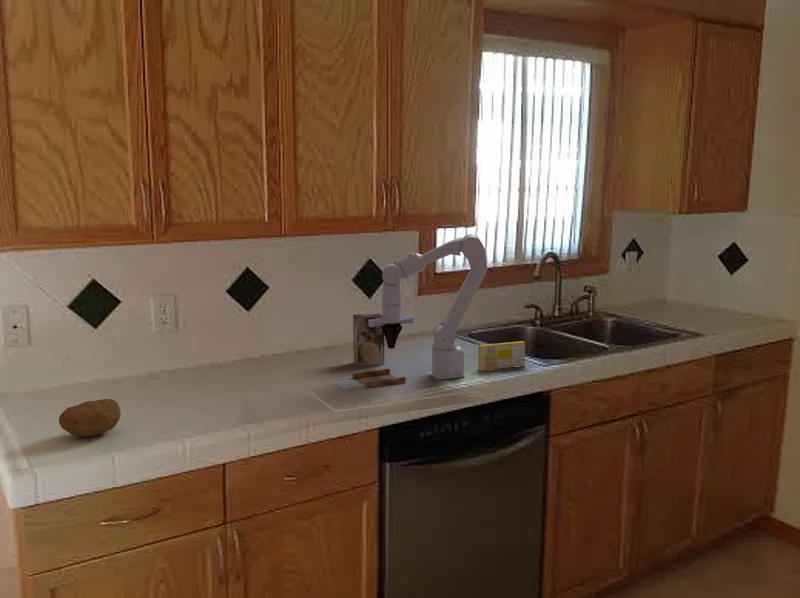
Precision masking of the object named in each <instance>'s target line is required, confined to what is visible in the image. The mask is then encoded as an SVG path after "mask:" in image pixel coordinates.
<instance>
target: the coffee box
mask: <svg viewBox="0 0 800 598" xmlns="http://www.w3.org/2000/svg"><path fill="white" fill-rule="evenodd" d="M377 318H382V314H380V313H368V314H367V313H363V314H353V315H352V338H353V339H352V340H353V341H352V344H353V345H352V346H353V347H352V352H353V353H352V354H353V356H352V357H353V358H352V360H353V362H352V363H353V364H354V365H355V366H358V367H359V366H377V365H385V335H384V333H383V330H382V329H381V326H374V327H370V326H368V322H369V320H371V319H377Z"/></svg>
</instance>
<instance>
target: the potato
mask: <svg viewBox="0 0 800 598" xmlns="http://www.w3.org/2000/svg"><path fill="white" fill-rule="evenodd" d="M121 414H122V413H121V408H120V406H119V403H118V401H116V400H115V399H112V398H102V399H97V400H87V401H85V402H84V401H83V402H82V403H79V404H77V405H73V406H70V407H67V408H66V409H65V410H63V412H62V413H61V414H60V415H59V417H58V423H59V424H58V425H60V428H61V429H62V430H64V431H66V432H67V433H69V434H71V435H72V436H74V437H76V438H91V437H95V436H99V435H101V434H103V433H106V432H108V431H109V430H112V429H114V428H115V427H116V426H117V424H118V423H119V421H120V419H121Z"/></svg>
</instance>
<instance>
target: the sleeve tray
mask: <svg viewBox="0 0 800 598" xmlns="http://www.w3.org/2000/svg"><path fill="white" fill-rule="evenodd" d="M352 379H354V380H356V381H358V382H360V383H361V384H363V385H365V387H366V388H369V389H370V388H376V387H377V388H378V387H384V386H386V387H387V386H391V385H399V384H400V385H401V384H406V379H407V378H406V376H398V377H396V376H394V375H392V374H391V369H390V368H387V367H386V368H381V369H380V368H379V369H371V370H364V371H356V372H352Z"/></svg>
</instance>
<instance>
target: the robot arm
mask: <svg viewBox="0 0 800 598" xmlns="http://www.w3.org/2000/svg"><path fill="white" fill-rule="evenodd" d="M486 252H487V251H486V248H485V247H484V244H483V242H482V241H481V239H480V237H478V236H477V235H476V234H472V233H469V234H465V236H463V237H457V238H454V239H451V240H450V241H447V242H446V243H443V244H441V245H439V246H437V247H435V248H433V249H431V250H430V251H427V252H426V253H423V254H421V253H417V252H415V253H413V252H410V253H408V254H407V256H406V257H404V258H402V259H400V260H397V259H396V260H394V261H393V263H390V264H387V265H386V266H385V267H384V268H383V270H382V272H381V273H382V274H381V278H382V280H383V282H382V291H381V293H382V294H381V295H382V297H381V302H382V303H381V304H382V305H381V310H382V311H381V312H382V313H381V315H382V318H377V319H371V320H369V322H368V326H370V327H374V326H381V329H382V330H383V333H384V339H385V341H386V345H387V348H388V349H389V350H392V349H395V347H396V343H397V340H398V338H399V335H400V333H401V331H402V330H403V324H415V317H414V316H413V315H412V316H411V315H409V316H407V315H406V316H405V315H404V316H403V315H402V289H401V288H402V287H401V280H402V279H406V280H407V279H408V278H410V277H412V276H415V275H417V274H419V273H421V272H423V271H425V269H426V266H427V265H429V264H431V263H433V262H436V261H438V260H441V259H442V258H445V257H447V256H450V255H453V256H460V257H461V253H462V254H463V255H464V257H465V258H466V260H467V261H468V265H469V268H470V269H469V272H468V273H467V275H466V277H465V279H464V281H463V283H462V285H461V287H460V289H459V291H458V293H456V294H457V295H456V296H455V298H454V300H453V301H452V304H451V306H450V307H449V310H448V311H447V313H446V314H445V316H444V317H443V319H442V321H441V322H440V323H439V324H438V325H436V327H435V328H434V330H433V336H434V337H433V341H434V343H433V344H432V346H431V350H432V351H431V371H427V372H426V374H427V375H430V376H432V377H434V378H436V379H438V380H439V379H442V380H449V379H455V378H464V377H466V375H465V371H464V369H465V354H464V350H463V348H462V347H461V346H459V345H456V344H455V342H456V334H457V332H458V330H459V327H460V324H461V322H462V320H463V318H464V316H465V315H466V313H467V310H468V308H469V307H470V305H471V303H472V301H473V299H474V297H475V296H476V293H477V292H478V289H479V288H480V286H481V284H482V282H483V281H484V278H485V277H486V274H487V272H488V264H487V263H488V261H487V255H486Z"/></svg>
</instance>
